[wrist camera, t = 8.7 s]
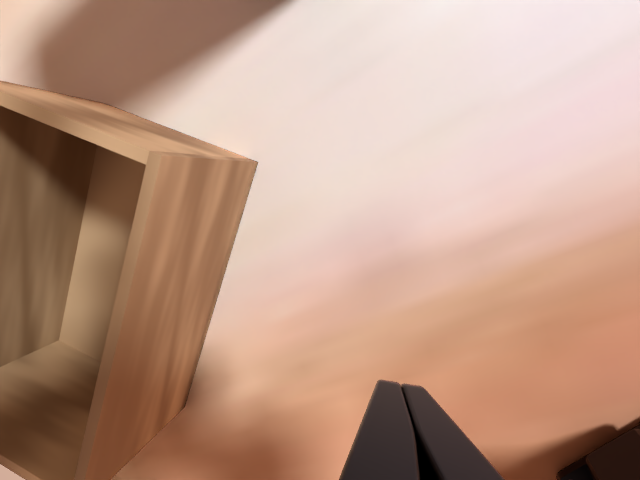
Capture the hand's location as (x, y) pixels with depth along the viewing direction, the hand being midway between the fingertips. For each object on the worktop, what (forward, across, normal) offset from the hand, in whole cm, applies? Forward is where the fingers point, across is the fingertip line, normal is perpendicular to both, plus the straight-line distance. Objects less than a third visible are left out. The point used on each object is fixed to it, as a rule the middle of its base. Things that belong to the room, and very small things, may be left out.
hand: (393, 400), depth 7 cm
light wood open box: (+15, +12, +6) cm, 20 cm away
